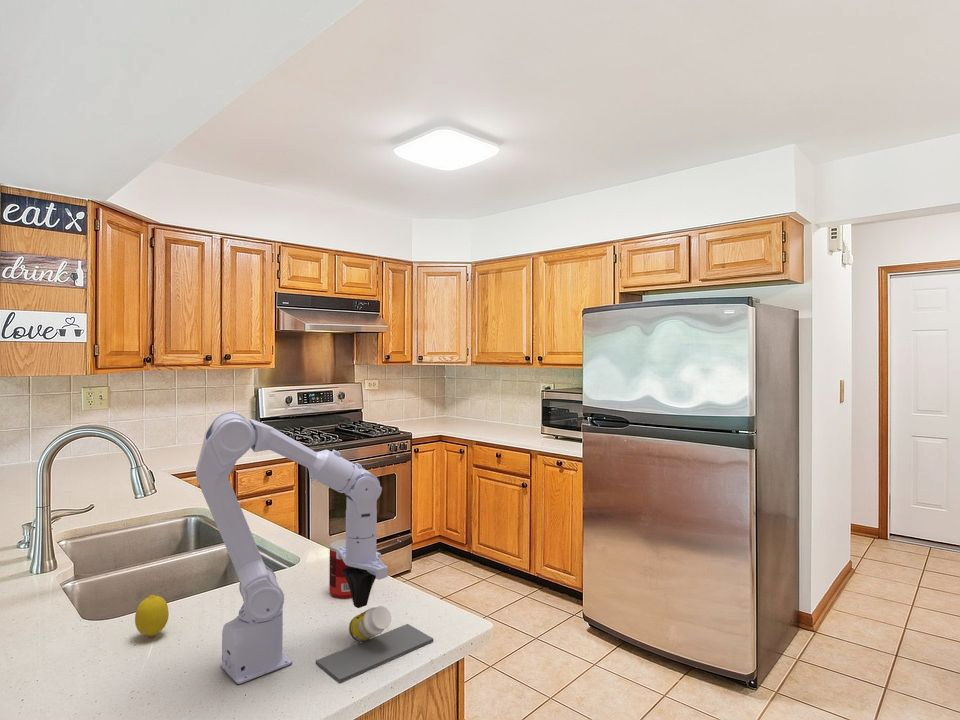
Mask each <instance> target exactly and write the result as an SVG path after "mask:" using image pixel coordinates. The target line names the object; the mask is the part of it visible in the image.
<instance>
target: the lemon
mask: <svg viewBox="0 0 960 720" xmlns="http://www.w3.org/2000/svg"><path fill="white" fill-rule="evenodd" d="M168 620H169V606H168V603H167V601H166V600H165V599H164V598H163V597H162V596H158V595H155V594H150V595H149V596H148V597H147V598H146V597H145V598H144V599H143V600H142V601H140V602H139V605H138V606H137V609H136V611H135V614H134V624H135V628H136V630H137V631H138V632H139V633H140V634H142V635H143V636H148V637H149V638H154V637H155V636H156V635H157V634H159V633H160V632H161V631H162V630H163V629H165V627H166V625H167V623H168Z"/></svg>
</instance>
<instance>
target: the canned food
mask: <svg viewBox="0 0 960 720" xmlns="http://www.w3.org/2000/svg"><path fill="white" fill-rule="evenodd" d="M341 547H346V538H343V539H341V538H340V539H337V540H335V541H333V542H331V543H330V545H329V564H328V565H329V570H328V572H329V577H328V579H329V584H328V585H329V587H328V588H329V589H328V590H329V594H330V596H332V597H333V596H334V598H336V597H338V598H337V599H342V598H343V599H352V596H351V592H350V588H349V585H348V582H347V580H346V578H345V576H344V575H343V573H342V570H343V569H344V568H347V567H348V566H347V565H346V564H345V563H344V561H343V560H342V559H337V558H336V549H337V548H341Z"/></svg>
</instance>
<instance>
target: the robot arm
mask: <svg viewBox="0 0 960 720" xmlns="http://www.w3.org/2000/svg"><path fill="white" fill-rule="evenodd" d="M248 420H249V421H248ZM248 420H247V419H246V417H244V416H243V415H242V414H240V413H238V412H235V411H234V412H233V411H228V412H224V413H221V414H220V415H218V416H217V417H215V418H214V420H213V421H212V422H211V424H210V425H209V427H208V428H207V430H206V431H205V432H204V437H203V442H202V446H201V449H200V454H199V457H198V462H197V465H196V469H195V476H196V481H197V483H198V485H199V488H200V490H201V493H202V495H203V498H204V500H205V502H206V505H207V506H208V509H209V511H210V514H211V515H212V518H213V520H214V524H215V525H216V527H217V529H218V530H217V531H219V534H220V537H221V539H222V541H223V544H224V546H225V548H226V551H227V554H228V555H229V557H230V560H231V562H232V565H233V567H234V569H235V572H236V574H237V578H238V580H239V585H238V587H239V588H238V590H239V593H240V595H241V597H242V601H243V603H242V605H241V607H240V609H239V610H238V615H237V616H236V617H235V618H233V619H232V620H230V621H228V622H226V623H224V624H223V628H222V632H221V663H220V667H221V668H222V669H223V671H225V673H227V675H228V676H229V677H230V678H231V679H232V680H233V681H234V682H235V683H236V684H237V685H240V684H243V683H246V682H248V681H251V680H253V679H255V678H258V677H261V676H263V675H267V674H268V673H271V672H274V671H276V670H278V669H282V668H284V667H287V666H290V665H292V662H293V660H292V659H291V658H290V657H288V656H287V655H286V654H285V653H284V652H283V645H284V643H283V637H284V636H283V635H284V633H283V632H284V629H283V625H284V624H283V623H284V619H283V618H284V617H283V616H284V611H283V610H284V607H283V606H284V603H285V594H284V592H283V590H282V588H281V587H280V585H279V583H278V581H277V576H276V574H275V572H274V570H272V569H271V568H270V567H268V566H267V565H266V564H265V562H264V560H263V557H262V554H261V553H260V550H259V548H258V546H257V544H256V541H255V539H254V537H253V533H252V531H251V529H250V527H249V524H248V522H247V519H246V517H245V515H244V512H243V510H242V507H241V505H240V502H239V500H238V498H237V495H236V493H235V490H234V489H233V486H232V483H231V481H230V479H229V476H230V474H231V473H232V470H233V469H234V467H235V465H236V463H237V461H238V460H240V459H241V458H242V457H243V456H244V455H245V454H246V453H247V452H249V450H250V449H251V450H252V451H253V452H255V453H257V452H265V451H271V452H274V453H276V454H278V455H280V456H282V457H283V458H284V457H285V458H286V459H289V460H290V461H293V462H295V463H297V464H298V465H301V466H303V467H305V468H307V470H308V474H309V477H310V478H311V479H312V480H315V481H316V482H319V483H320V484H322V485H324V486H325V487H328V488H329V489H332V490H334V491H336V492H337V493H340V494H343V493H344V495H345V496H346V509H345V539H346V547H341V548H337V549H336V558H337V559H342V560H343V561H344V563H345V564H346V565H347V566H348V567H347V568H344V569H343V570H342V573H343V575H344V576H345V578H346V580H347V582H348V585H349V588H350V592H351V596H352V598H351V600H352V603H353V606H354V607H355V608H357V609H360V608H362V607H366V606H367V605H368V602H369V598H370V594H371V591H372V588H373V585H374V583H375V581H376V580H378V581H379V580H383V579H385V578H388V576H389V575H388V574H389V573H388V571H389V570H388V569H389V566H388V565H385V564H384V563H383V561H382V560H381V559H380V558H381V557H382V556H381V555H382V554H381V552H379V551H377V528H378V526H377V525H378V523H377V519H378V517H377V516H378V515H377V514H378V509H377V504H378V503H377V501H378V499H380V496H381V495H382V491H383V487H382V486H381V482H380V480H379V478H378V477H377V476H376V475H374V474H373V473H372V472H370V471H368V470H367V469H365V468H364V467H362V464H360V463H358V462H355V463H353V462H351V461H349V460H347V459H345V458H344V457H342V456H341V455H342V453H341V452H339V451H338V450H335V449H332V451H331V450H328V449H324V450H321V451H320V450H319V451H315V450H313V449H311V448H310V447H308V446H306V445H305V444H302V443H300V442H298V441H297V440H295V439H293V438H292V437H290V436H288V435H286V434H285V433H283V432H281V431H280V430H277V429H276V428H274V427H272V426H270V425H268V424H265V423H263V422H260V421H259V420H256V419H252V418H249V417H248Z"/></svg>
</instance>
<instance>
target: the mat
mask: <svg viewBox="0 0 960 720" xmlns="http://www.w3.org/2000/svg"><path fill="white" fill-rule="evenodd" d="M431 643H434V637H431V636H430V635H428V634H427V633H424V632H423V631H421V630H420V629H417V627H414V626H412V625H410V624H409V623H407V624H403V625H401V626H399V627H396V628H393V629H391V630H388V631H386V632H382V633H380V634H378V635H376V636H374V637H372V638H370V639H368V640H366V641H363V642H358V643H355V644H353V645H351V646H348V647H346V648H344V649H341V650H338V651H336V652H334V653H331V654H328V655H325V656H324V657H321V658H319V659H315V664H316V665H317V666H318V667H319V668H320V669H321V670H323V671H324V672H325V673H326V674H328V676H330V677H331V678H333V679H334V680H335V681H336V682H338V683H339V684H340V683H344V682H346V681H347V680H348V681H349V680H350V679H352V678H355V677H357V676H359V675H361V674H363V673H366V672H368V671H370V670H372V669H375V668H377V667H379V666H382V665H384V664H386V663H389V662H391V661H393V660H395V659H398V658H400V657H402V656H404V655H406V654H407V655H408V654H409V653H411V652H414V651H415V650H418V649H420V648H422V647H424V646H427V645H429V644H431Z"/></svg>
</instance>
